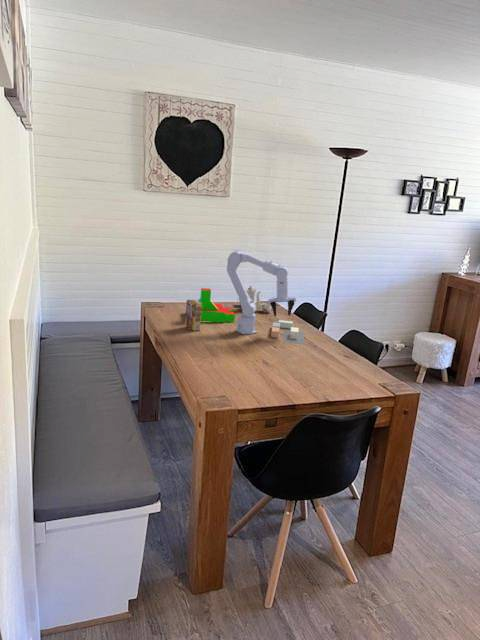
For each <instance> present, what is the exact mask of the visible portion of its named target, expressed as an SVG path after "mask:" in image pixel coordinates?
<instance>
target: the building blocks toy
mask: <svg viewBox="0 0 480 640" xmlns="http://www.w3.org/2000/svg"><path fill="white" fill-rule="evenodd" d="M211 293H212V290H211V288H205V287H204V288H203V287H201V288H200V298H199V299H198V300H197V301H198V302H201V303H202V310H201V321H211V322H210V323H212V322H224V323H223V324H225V323H235V317H236V314H235V312H234V311H233V308H232V307H223V304H221V303H214V302H213V301H212V300H211V295H212V294H211ZM225 321H227V322H225Z"/></svg>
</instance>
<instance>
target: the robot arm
mask: <svg viewBox="0 0 480 640" xmlns="http://www.w3.org/2000/svg"><path fill="white" fill-rule="evenodd" d="M247 262H248V263H250V264H252V265H253V264H254V265H256V266H257V267H261V268H262V271H263V272H266V273H268V274H271V275H273V276H276V297H272V298H268V299H267V303H270V304H271V307H272V309H271V310H272V311H273V312H272V313H273V316H274V317H277V303H287V315H288V316H291V313H292V310H293V308H294V305H295V302H296V301H297V297H294V296H293V297H292V296H291V297H289V296H288V294H289V293H288V292H289V290H288V289H289V288H288V285H289V283H288V274H289V270H288V268H287V267H286V266H284V265H281V264H277V263H274V261H273V260H262V259H260V258H258V257H256V256H254V255H252V254H250V253H248V252H245V251H242V250H238V249H236V250H235V251H233V252H231V253H230V254H229V255H228V258H227V265H226V273H227V274H228V276H229V278H230V281H231V283H232V286H233V288H234V290H235V292H236V294H237V296H238V299H239V298H240V301H241V305H240V307H241V306H242V308H241V309H242V310H241V311H242V314H241V315H240V316H238V317H237V318H236V326H235V327H236V329H235V331H236V332H238V333H240V334H242V335H249V334H257V333H258V331H257V330H255V327H256V318H257V317H256V314H255V312H256V311H257V310H258V309H257V307H256V304H255V303H254V302H253V301H252V299H251V298H250V297H249V295H248V293H247V291H246V289H247V288H246V286H245V285H244V283H243V281H242V278H241V276H240V274H239V272H238V269H239V266H240V264H241V263H247Z"/></svg>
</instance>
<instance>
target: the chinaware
mask: <svg viewBox="0 0 480 640" xmlns="http://www.w3.org/2000/svg"><path fill="white" fill-rule="evenodd" d="M245 289H246V291H247V293H248V295H249V297H250V298H251V299H252V301H253V302H254V303H255V304H256V307H257V309H256V310H258V309H259V308H261V310H262V311H263V313H266V312H267V313H271V312H272V310H273V309H272V307H271V304H270V303H268V302H261V298H260V293H261V291H258V292H257V293H256V289H254V288H253V286H252V285H250V286H249V287H248V288H245ZM255 294H256V295H255ZM255 296H256V297H255ZM236 303H237V304H239V305H240V307H241V309H242V306H241V301H240V298H239V297H238V298H237V299H236Z"/></svg>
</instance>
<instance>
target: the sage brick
mask: <svg viewBox="0 0 480 640" xmlns="http://www.w3.org/2000/svg"><path fill="white" fill-rule="evenodd" d="M278 323H280V329H281V328H283V329H288V330H289V329H290V330H291V327H294V326H293V325H294V321H291V320H283V319H279V320H278Z"/></svg>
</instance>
